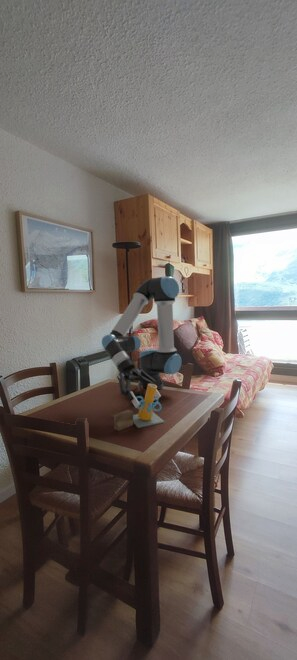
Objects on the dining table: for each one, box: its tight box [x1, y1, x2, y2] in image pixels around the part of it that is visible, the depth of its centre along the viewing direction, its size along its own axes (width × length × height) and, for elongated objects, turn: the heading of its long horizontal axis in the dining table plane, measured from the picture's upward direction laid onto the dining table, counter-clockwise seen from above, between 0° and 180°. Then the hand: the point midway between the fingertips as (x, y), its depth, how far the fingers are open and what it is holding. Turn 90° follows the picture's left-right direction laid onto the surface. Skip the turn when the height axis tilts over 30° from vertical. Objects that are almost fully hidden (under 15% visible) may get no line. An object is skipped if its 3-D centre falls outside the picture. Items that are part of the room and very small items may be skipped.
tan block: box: [113, 409, 135, 432], centre depth 124 cm, size 3×8×6 cm, turn 137°
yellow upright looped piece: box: [136, 384, 162, 421], centre depth 128 cm, size 12×10×15 cm
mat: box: [133, 411, 165, 429], centre depth 131 cm, size 12×13×1 cm
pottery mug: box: [133, 386, 147, 401], centre depth 157 cm, size 12×10×8 cm
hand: (148, 401), depth 128 cm, fingers open, 13 cm apart
